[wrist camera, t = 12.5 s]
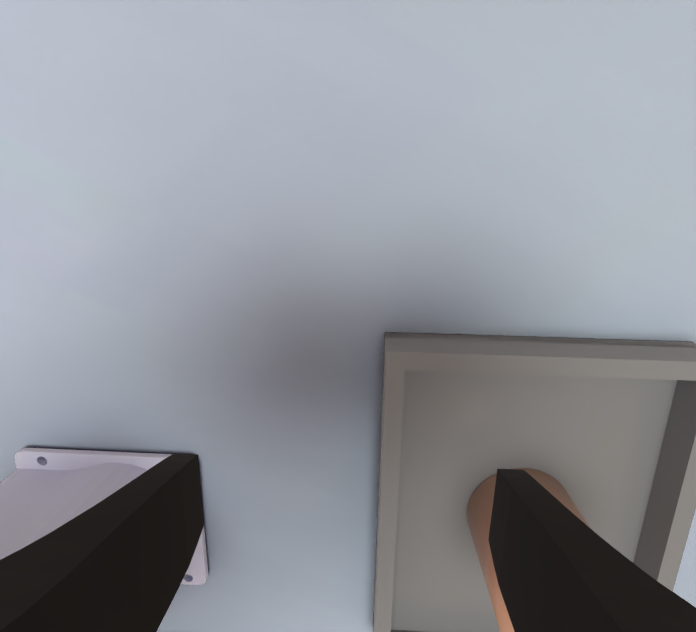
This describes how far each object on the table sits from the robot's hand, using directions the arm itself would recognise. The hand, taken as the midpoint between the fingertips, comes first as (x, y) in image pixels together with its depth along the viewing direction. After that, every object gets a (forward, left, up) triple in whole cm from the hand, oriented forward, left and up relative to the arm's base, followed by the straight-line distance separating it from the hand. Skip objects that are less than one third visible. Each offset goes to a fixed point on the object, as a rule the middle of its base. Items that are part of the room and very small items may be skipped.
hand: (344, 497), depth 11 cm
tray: (+8, -8, -10) cm, 15 cm away
